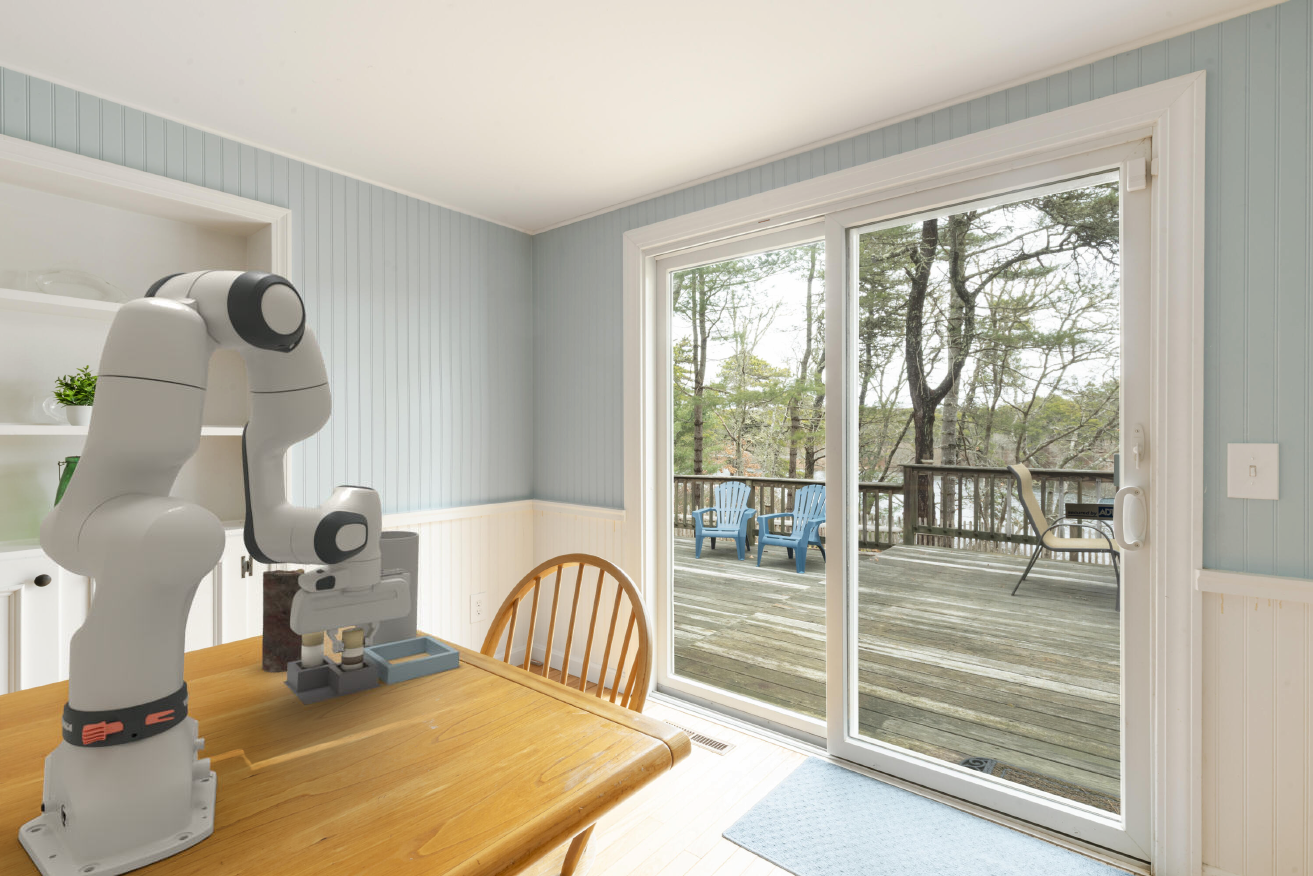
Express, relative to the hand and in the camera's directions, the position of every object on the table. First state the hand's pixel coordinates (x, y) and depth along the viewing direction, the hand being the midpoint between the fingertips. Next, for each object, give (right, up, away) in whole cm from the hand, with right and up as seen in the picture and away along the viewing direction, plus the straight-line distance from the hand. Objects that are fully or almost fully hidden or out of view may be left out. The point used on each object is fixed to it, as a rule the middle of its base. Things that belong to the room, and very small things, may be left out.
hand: (352, 649), depth 117 cm
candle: (-18, -8, +9) cm, 22 cm away
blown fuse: (0, -7, 0) cm, 7 cm away
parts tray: (+6, -8, +11) cm, 15 cm away
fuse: (-8, -6, +1) cm, 10 cm away
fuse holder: (-4, -8, 0) cm, 9 cm away
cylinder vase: (-4, -8, +23) cm, 25 cm away
